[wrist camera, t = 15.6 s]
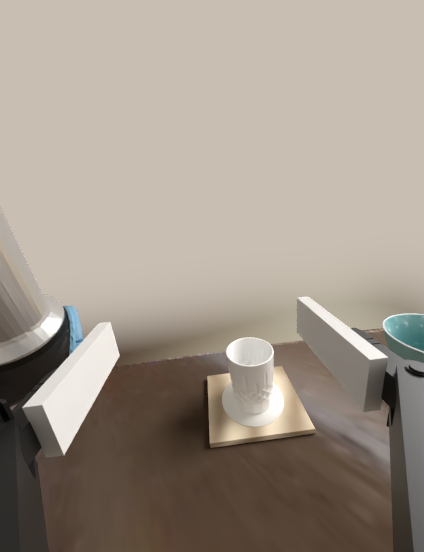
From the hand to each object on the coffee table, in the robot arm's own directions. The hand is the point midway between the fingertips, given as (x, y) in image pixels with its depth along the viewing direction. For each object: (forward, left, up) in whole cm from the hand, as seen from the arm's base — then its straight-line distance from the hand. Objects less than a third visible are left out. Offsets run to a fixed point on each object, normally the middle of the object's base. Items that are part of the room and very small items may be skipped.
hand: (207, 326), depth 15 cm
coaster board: (-3, +18, -26) cm, 32 cm away
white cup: (-2, +18, -25) cm, 31 cm away
